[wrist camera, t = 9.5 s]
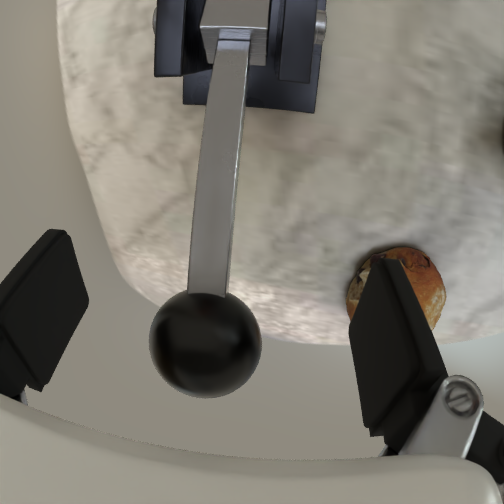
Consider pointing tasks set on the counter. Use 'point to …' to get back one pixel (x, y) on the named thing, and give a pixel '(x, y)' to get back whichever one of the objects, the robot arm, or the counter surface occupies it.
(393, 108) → the counter surface
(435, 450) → the robot arm
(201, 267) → the lever handle
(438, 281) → the bread roll
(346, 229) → the counter surface
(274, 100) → the lever base
